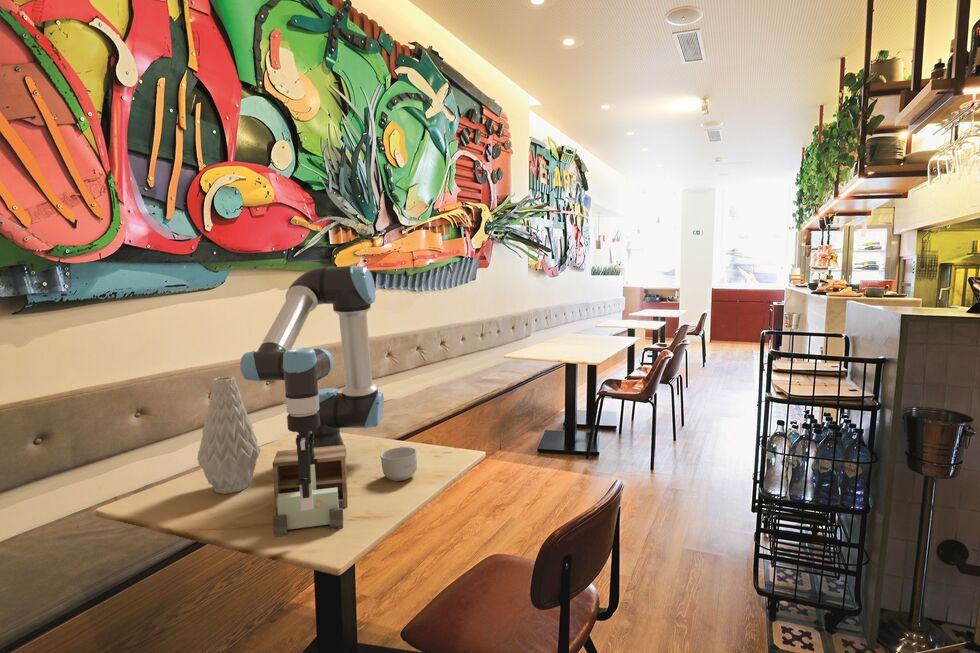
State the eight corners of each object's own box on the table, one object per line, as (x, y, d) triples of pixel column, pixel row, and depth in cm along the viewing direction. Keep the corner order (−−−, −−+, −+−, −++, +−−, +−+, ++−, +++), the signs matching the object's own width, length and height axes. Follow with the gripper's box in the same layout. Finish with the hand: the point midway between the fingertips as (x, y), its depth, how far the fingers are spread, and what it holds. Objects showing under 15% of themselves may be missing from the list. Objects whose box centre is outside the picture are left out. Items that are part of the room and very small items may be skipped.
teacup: (410, 485, 162) (409, 458, 162) (375, 483, 165) (374, 456, 164) (425, 468, 176) (424, 443, 175) (393, 466, 178) (392, 442, 177)
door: (280, 525, 137) (278, 493, 136) (339, 517, 140) (337, 487, 139) (278, 532, 133) (276, 500, 132) (338, 524, 136) (337, 493, 136)
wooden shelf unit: (280, 500, 153) (277, 451, 152) (347, 492, 158) (345, 444, 156) (269, 537, 132) (265, 480, 130) (347, 527, 136) (344, 471, 135)
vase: (191, 489, 163) (182, 378, 160) (248, 473, 175) (241, 370, 171) (211, 505, 151) (202, 386, 148) (271, 487, 163) (264, 377, 160)
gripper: (291, 402, 145) (297, 482, 147) (281, 427, 122) (288, 522, 124) (321, 399, 146) (326, 479, 149) (316, 424, 124) (322, 518, 126)
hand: (309, 499), depth 137 cm, fingers open, 11 cm apart
